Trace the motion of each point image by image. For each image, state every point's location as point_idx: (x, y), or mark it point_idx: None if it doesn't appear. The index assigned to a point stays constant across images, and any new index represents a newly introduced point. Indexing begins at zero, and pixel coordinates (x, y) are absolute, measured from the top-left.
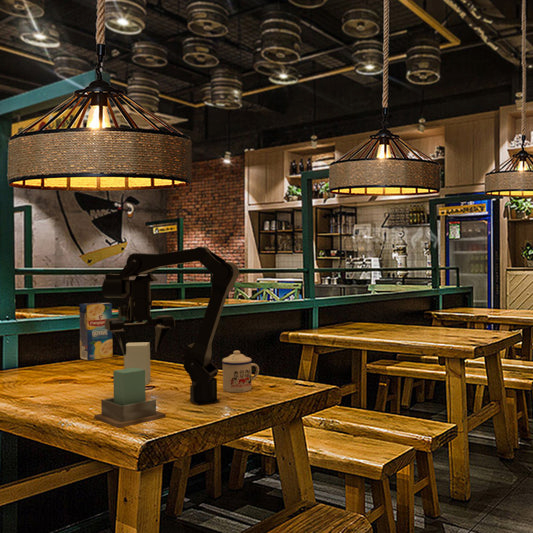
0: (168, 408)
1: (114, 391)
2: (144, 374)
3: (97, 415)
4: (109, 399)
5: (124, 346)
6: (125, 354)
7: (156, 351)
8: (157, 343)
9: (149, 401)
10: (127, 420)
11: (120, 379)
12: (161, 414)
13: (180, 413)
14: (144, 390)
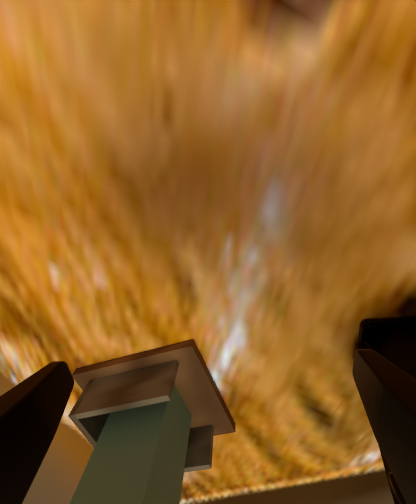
0: (267, 365)
1: (93, 459)
2: None
3: (80, 381)
4: (90, 415)
5: (14, 486)
6: (70, 387)
7: (354, 378)
8: (405, 484)
9: (192, 470)
10: None
11: None
12: (225, 431)
13: (278, 413)
14: (179, 484)
